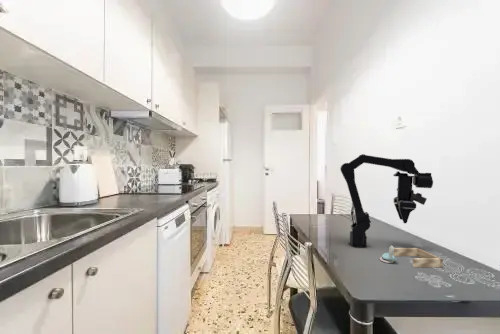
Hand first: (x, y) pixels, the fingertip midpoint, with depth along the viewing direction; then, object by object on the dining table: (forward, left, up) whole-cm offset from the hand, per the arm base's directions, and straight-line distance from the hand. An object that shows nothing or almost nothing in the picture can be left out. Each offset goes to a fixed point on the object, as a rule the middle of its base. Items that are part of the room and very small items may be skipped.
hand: (403, 221), depth 127 cm
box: (-4, -15, -13) cm, 20 cm away
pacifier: (-15, -15, -13) cm, 25 cm away
